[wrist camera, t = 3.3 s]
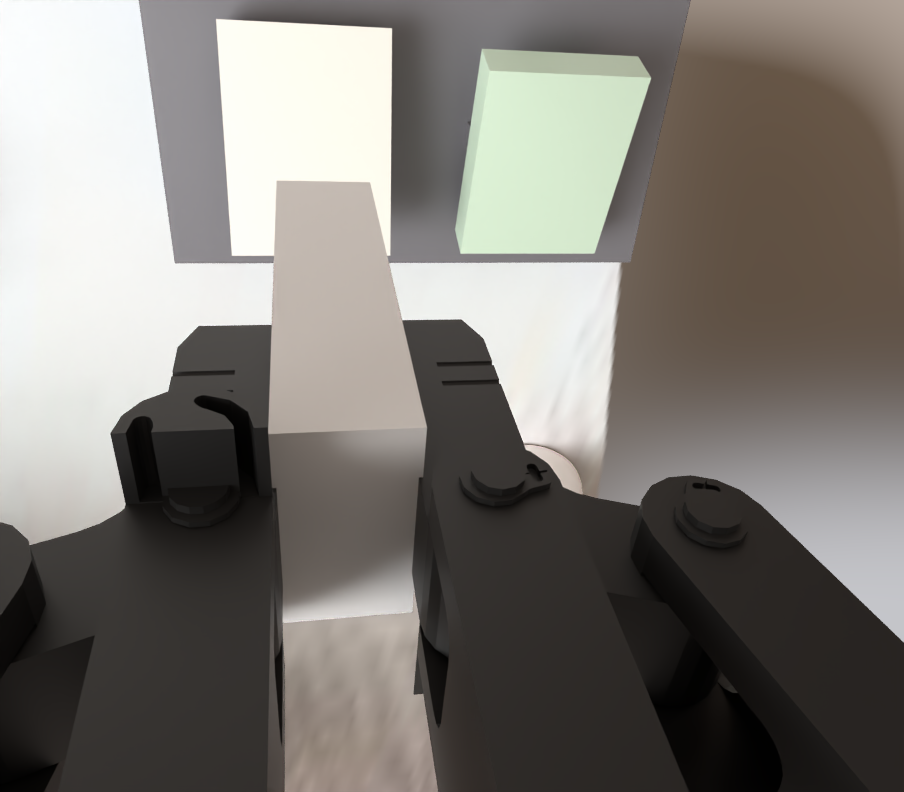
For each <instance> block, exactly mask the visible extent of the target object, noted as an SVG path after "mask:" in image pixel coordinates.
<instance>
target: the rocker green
mask: <svg viewBox="0 0 904 792" xmlns="http://www.w3.org/2000/svg"><path fill="white" fill-rule="evenodd" d="M650 80H651V77H650V75H649V73H648V72H647V70H646V68H645V67H644V65H643V64H642V62H641V60H640V59H639V57H638V56H621V55H601V54H580V53H560V52H540V51H519V50H499V49H482V52H481V58H480V65H479V72H478V79H477V85H476V92H475V99H474V105H473V112H472V119H471V126H470V132H469V139H468V146H467V153H466V159H465V166H464V173H463V179H462V186H461V193H460V200H459V206H458V213H457V220H456V227H455V232H456V236H457V241H458V245H459V249H460V253H461V254H594V253H595V250H596V247H597V244H598V241H599V238H600V235H601V232H602V229H603V226H604V222H605V219H606V216H607V213H608V210H609V207H610V204H611V201H612V198H613V195H614V192H615V188H616V185H617V182H618V179H619V176H620V173H621V170H622V167H623V164H624V161H625V158H626V154H627V151H628V148H629V145H630V142H631V139H632V136H633V133H634V130H635V127H636V124H637V120H638V117H639V114H640V111H641V108H642V105H643V102H644V99H645V96H646V93H647V90H648V86H649V83H650Z"/></svg>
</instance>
